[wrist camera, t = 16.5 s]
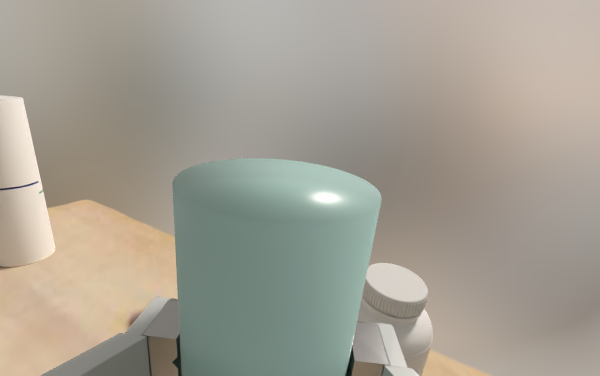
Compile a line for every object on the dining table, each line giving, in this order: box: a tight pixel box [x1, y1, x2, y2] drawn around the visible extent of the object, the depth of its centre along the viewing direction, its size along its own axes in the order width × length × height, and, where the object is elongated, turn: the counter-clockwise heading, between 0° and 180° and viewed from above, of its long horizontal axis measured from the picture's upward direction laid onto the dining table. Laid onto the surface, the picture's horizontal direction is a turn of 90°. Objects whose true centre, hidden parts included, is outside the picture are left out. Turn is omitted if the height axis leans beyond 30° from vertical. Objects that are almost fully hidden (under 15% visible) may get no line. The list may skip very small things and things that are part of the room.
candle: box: [173, 158, 381, 376], centre depth 9 cm, size 5×5×13 cm
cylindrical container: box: [0, 96, 55, 267], centre depth 42 cm, size 7×7×25 cm
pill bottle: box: [357, 263, 433, 376], centre depth 26 cm, size 8×8×15 cm
